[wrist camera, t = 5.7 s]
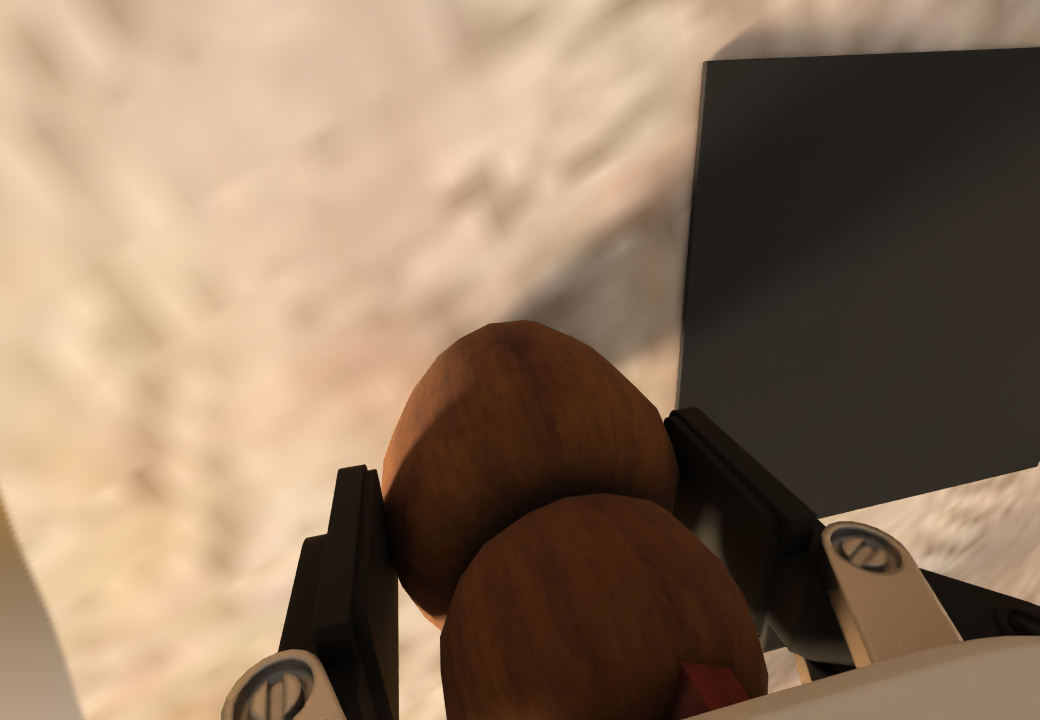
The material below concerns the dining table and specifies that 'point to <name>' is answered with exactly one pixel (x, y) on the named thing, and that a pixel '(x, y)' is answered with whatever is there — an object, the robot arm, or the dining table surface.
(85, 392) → the dining table surface
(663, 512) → the wooden figurine
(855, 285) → the mat
